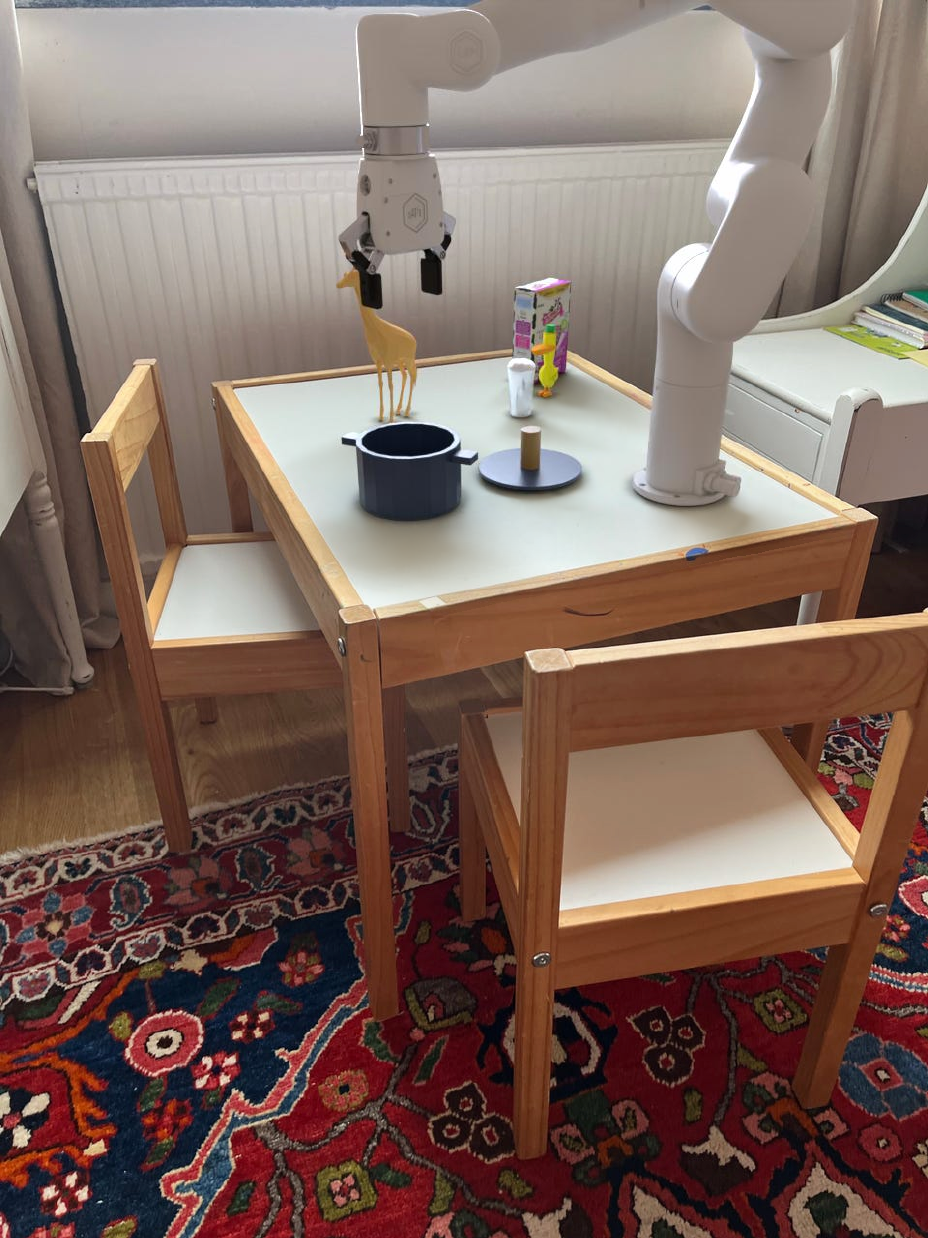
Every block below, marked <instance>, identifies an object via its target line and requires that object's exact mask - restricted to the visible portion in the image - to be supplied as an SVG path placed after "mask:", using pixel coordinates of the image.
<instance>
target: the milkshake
mask: <svg viewBox="0 0 928 1238" xmlns="http://www.w3.org/2000/svg"><path fill="white" fill-rule="evenodd" d="M540 356H541V355H540ZM539 358H540V357H539ZM538 360H539V359H538ZM537 362H538V361H537ZM535 367H536V365H535V363H534V362H533V361H531V360H528V359H526V358H521V359H513V360H512V359H511V360H510V361H509V362H508V364H507V367H506V368H507V378H508V390H509V408H510V409H509V410H510V415H511V416H512V417H514V418H527V417H529V416H531V413H532V402H533V392H534V385H535V383H534V376H535Z"/></svg>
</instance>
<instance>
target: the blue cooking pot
mask: <svg viewBox="0 0 928 1238" xmlns="http://www.w3.org/2000/svg"><path fill="white" fill-rule="evenodd" d="M340 439H341V444H342V445H344V446H350V447H355V453H356V454H355V456H356V467H357V468H356V469H357V483H358V495H359V496H358V497H359V504H360V506H361V508H362V509H363V510H364V511H365V512H367V513H368V514H370V515H372V516H374V517H376V518H377V517H378V518H381V519H385V520H390V521H391V520H392V521H401V522H407V521H408V522H410V521H411V522H413V521H423V520H429V519H435V518H439V517H441V516H445V515H446V514H448V513H450V512H452V511H454V510H455V509H456V508H457V507H458V506H459V505H460V503H461V500H462V465H464V466H472V465H473V464H474V463H476V462H477V461H478V460H479V452H478V451H474V450H467V449H462V439H461V436H460V434H459V433H458V432H456V431H455V430H454V429H453V428H451V427H448V426H445V425H442V424H439V423H432V422H425V421H401V422H400V421H399V422H393V423H389V424H388V423H385V424H381V425H377V426H373V427H371V428H368V429H366V430H364V431H362V432H355V431H349V432H348V433H346V434H345V435H342V436H341V438H340Z"/></svg>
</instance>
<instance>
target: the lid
mask: <svg viewBox="0 0 928 1238" xmlns="http://www.w3.org/2000/svg"><path fill="white" fill-rule="evenodd" d="M541 447H542V428H540V427H539V426H537V425H536V426H535V425H528V426H523V427H521V428H520V447H519V448H509V449H504V450H500V451H496V452H493V453H490V454H489V455H486V456H485V457H484V458H483V459H481V461H480V462H479V463H478V473H479V475H480V477H482V478H483V479H484V480H485V481H487V482H489V483H491V484H493V485H496V486H499V487H503V488H507V489H513V490H520V491H521V490H523V491H541V490H542V491H543V490H552V489H556V488H561V487H564V486H567V485H569V484H572V483H574V482H575V481H576V480H578V479H579V478H580V476H581V475H582V473H583V472H582V471H583V469H582V468H583V466H582V463H580V461H579V460H578V459H577V458H575V457H574V456H572V455H570V454H567V453H565V452H561V451H557V450H554V449H548V448H541Z"/></svg>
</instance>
